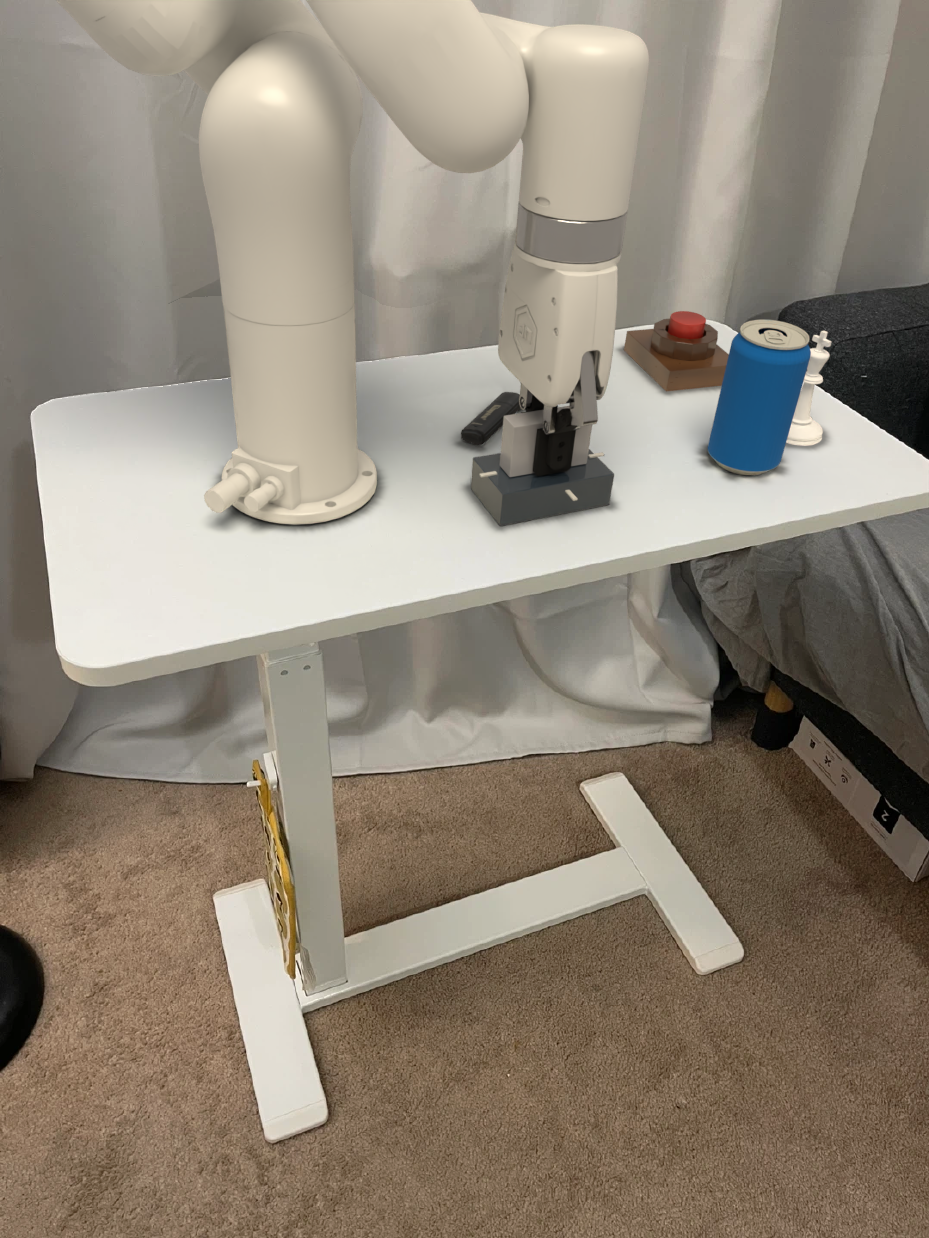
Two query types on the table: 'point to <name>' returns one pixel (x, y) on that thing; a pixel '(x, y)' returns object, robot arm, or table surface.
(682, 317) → the button
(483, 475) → the dark grey marked platform
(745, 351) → the beverage can
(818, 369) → the chess piece
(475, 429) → the usb stick
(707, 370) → the button block
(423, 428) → the table surface
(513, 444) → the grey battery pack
